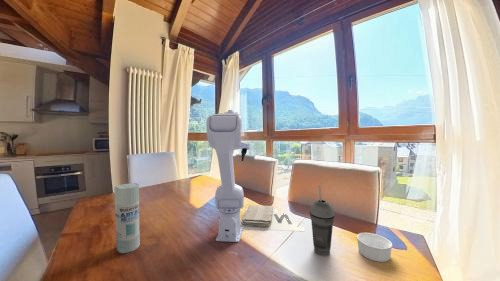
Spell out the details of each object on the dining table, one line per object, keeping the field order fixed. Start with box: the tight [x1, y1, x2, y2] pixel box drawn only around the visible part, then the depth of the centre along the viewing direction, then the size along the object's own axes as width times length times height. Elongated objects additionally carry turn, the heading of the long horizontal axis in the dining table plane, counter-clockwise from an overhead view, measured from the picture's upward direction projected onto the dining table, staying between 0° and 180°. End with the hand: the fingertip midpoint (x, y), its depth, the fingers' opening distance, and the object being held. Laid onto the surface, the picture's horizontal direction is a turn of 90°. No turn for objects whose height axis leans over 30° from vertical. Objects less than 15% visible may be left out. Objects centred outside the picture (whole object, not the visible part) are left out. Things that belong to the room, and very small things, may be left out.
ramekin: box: [356, 232, 393, 263], centre depth 57 cm, size 9×9×4 cm
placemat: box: [240, 207, 305, 232], centre depth 83 cm, size 21×24×1 cm
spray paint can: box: [113, 182, 141, 254], centre depth 61 cm, size 6×6×20 cm
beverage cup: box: [309, 184, 336, 257], centre depth 58 cm, size 7×7×20 cm
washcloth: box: [241, 204, 274, 227], centre depth 83 cm, size 12×18×3 cm, turn 171°
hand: (235, 159), depth 95 cm, fingers open, 7 cm apart
